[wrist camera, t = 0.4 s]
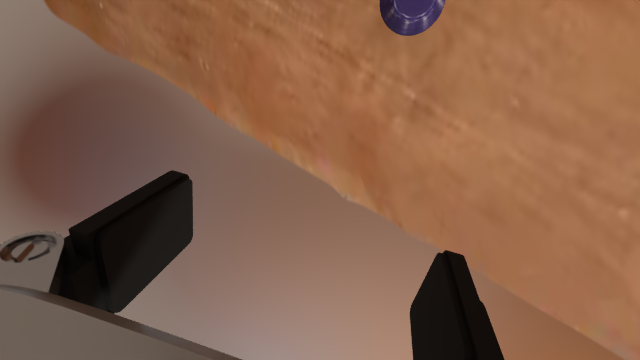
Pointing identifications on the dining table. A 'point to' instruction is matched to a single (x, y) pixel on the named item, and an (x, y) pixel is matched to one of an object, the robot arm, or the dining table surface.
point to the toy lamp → (410, 15)
